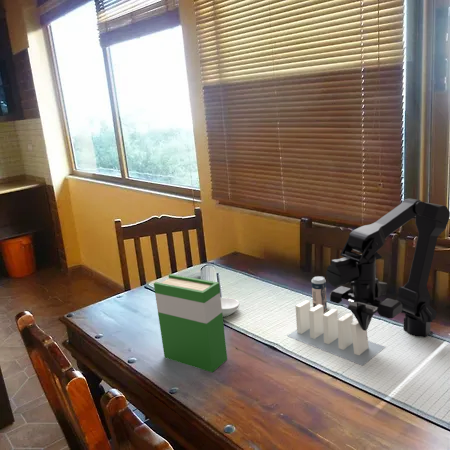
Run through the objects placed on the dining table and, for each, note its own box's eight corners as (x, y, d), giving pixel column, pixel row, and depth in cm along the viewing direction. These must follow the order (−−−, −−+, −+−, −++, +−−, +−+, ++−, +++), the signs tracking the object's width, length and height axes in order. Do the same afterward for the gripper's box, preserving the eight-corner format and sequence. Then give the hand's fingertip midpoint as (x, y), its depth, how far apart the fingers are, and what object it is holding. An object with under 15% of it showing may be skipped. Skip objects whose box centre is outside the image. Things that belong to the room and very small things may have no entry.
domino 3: (338, 337, 138) (337, 309, 136) (328, 344, 135) (327, 316, 133) (334, 335, 139) (332, 308, 137) (324, 342, 136) (322, 314, 134)
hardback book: (164, 357, 139) (153, 283, 132) (180, 345, 144) (170, 274, 138) (212, 372, 129) (203, 292, 122) (227, 359, 134) (219, 282, 128)
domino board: (385, 349, 131) (385, 346, 131) (362, 368, 124) (362, 365, 123) (311, 323, 150) (310, 320, 150) (287, 338, 142) (286, 335, 142)
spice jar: (327, 314, 155) (325, 281, 152) (312, 314, 156) (311, 281, 153) (327, 307, 160) (325, 275, 156) (313, 308, 161) (311, 275, 158)
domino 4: (353, 342, 135) (352, 314, 132) (343, 349, 131) (342, 321, 129) (348, 341, 136) (347, 313, 133) (338, 348, 133) (337, 319, 130)
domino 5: (368, 347, 131) (365, 318, 129) (359, 355, 128) (355, 324, 126) (363, 346, 132) (360, 317, 130) (354, 353, 129) (350, 323, 127)
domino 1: (311, 327, 145) (309, 301, 143) (301, 334, 142) (299, 307, 140) (307, 326, 147) (305, 300, 144) (297, 332, 143) (295, 305, 141)
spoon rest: (224, 303, 172) (222, 285, 170) (247, 311, 164) (245, 292, 162) (173, 328, 157) (170, 308, 155) (195, 338, 148) (192, 318, 147)
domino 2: (324, 332, 142) (323, 305, 139) (314, 339, 139) (313, 311, 136) (320, 330, 143) (319, 304, 141) (310, 337, 140) (308, 310, 137)
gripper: (412, 274, 122) (411, 328, 126) (349, 261, 135) (351, 310, 139) (391, 288, 114) (391, 345, 118) (327, 273, 128) (329, 324, 132)
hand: (365, 329), depth 127 cm, fingers closed
